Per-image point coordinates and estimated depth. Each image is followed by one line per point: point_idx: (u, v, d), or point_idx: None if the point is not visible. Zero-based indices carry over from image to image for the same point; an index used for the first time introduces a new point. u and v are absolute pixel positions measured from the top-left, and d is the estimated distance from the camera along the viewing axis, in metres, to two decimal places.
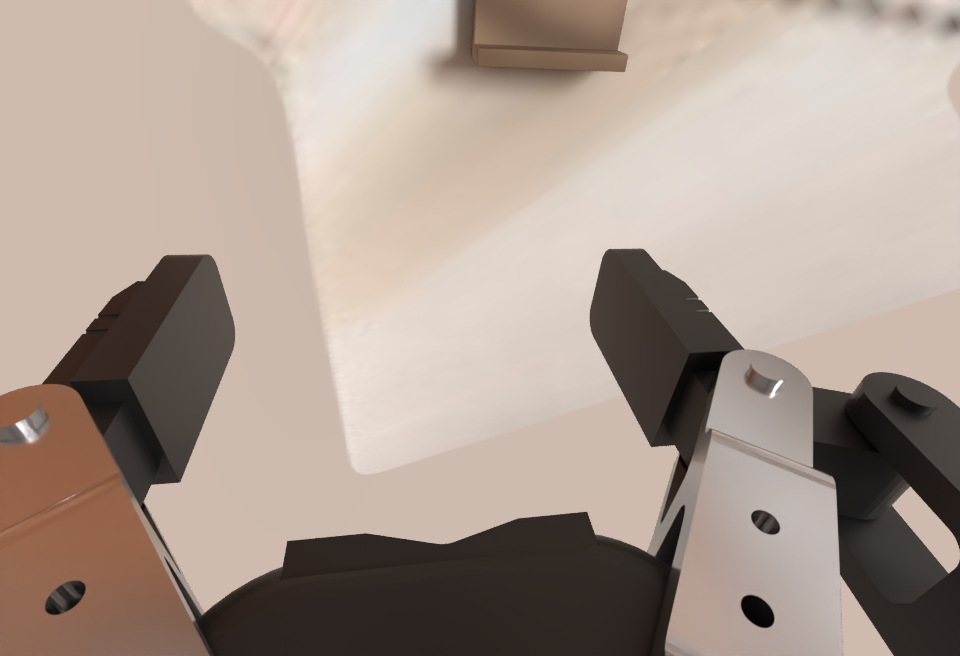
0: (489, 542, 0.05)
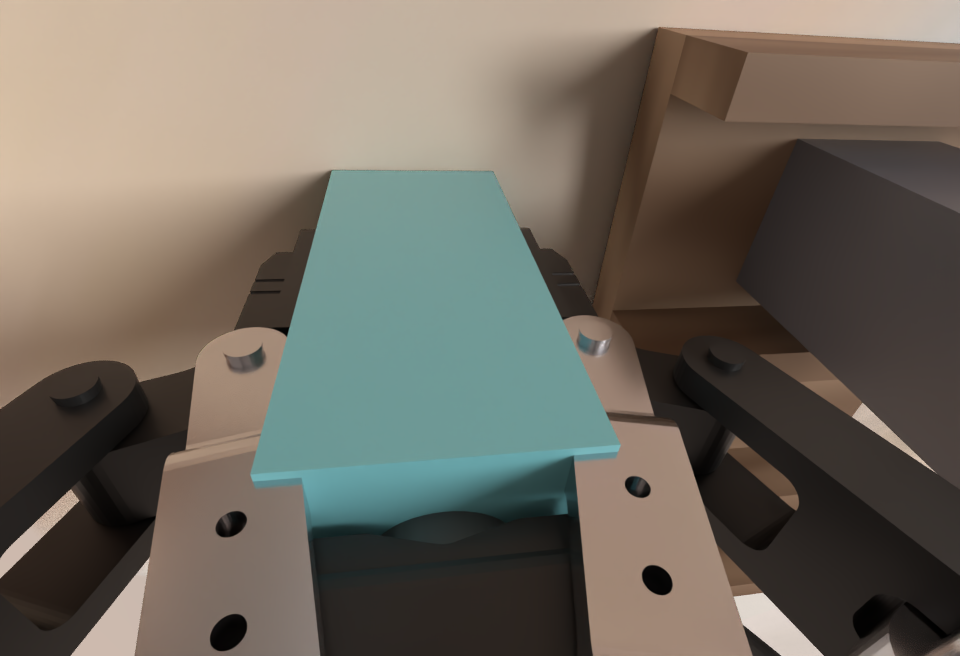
0: (488, 541, 0.05)
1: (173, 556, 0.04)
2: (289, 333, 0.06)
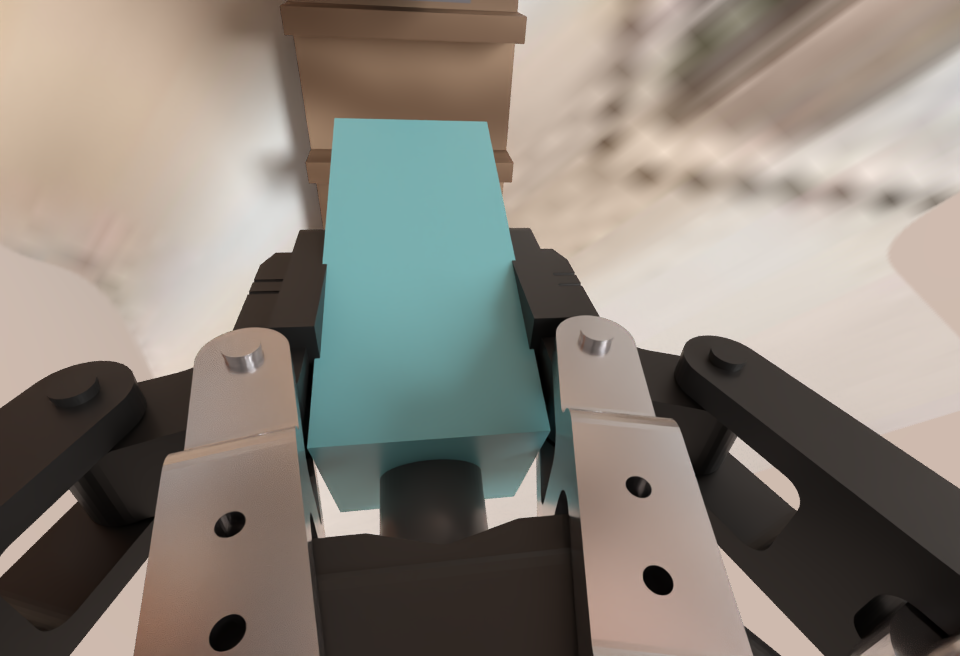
0: (489, 541, 0.05)
1: (171, 557, 0.04)
2: None
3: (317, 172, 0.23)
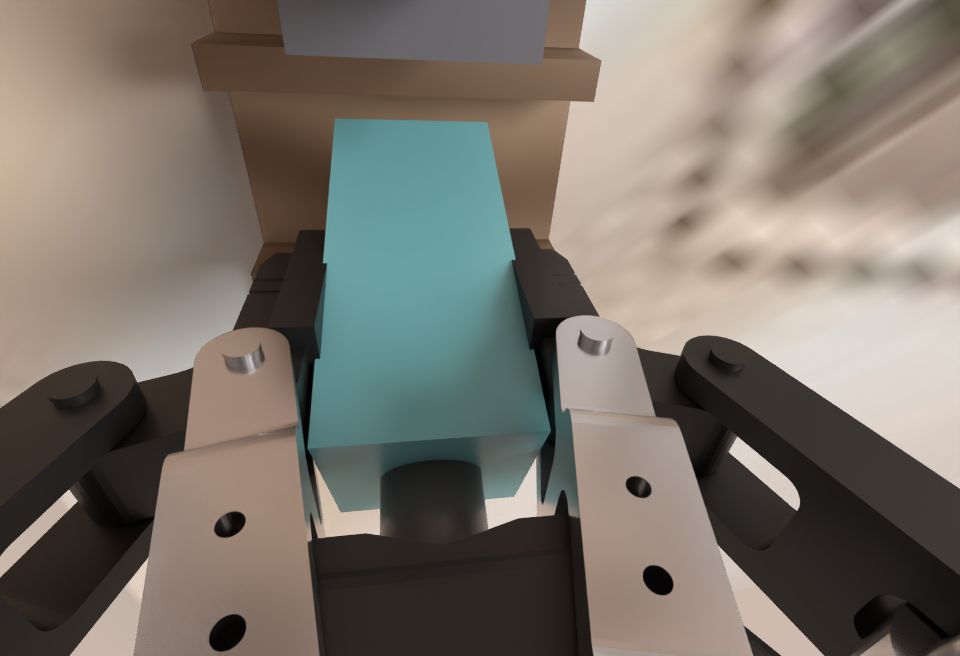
0: (488, 542, 0.05)
1: (171, 556, 0.04)
2: None
3: None
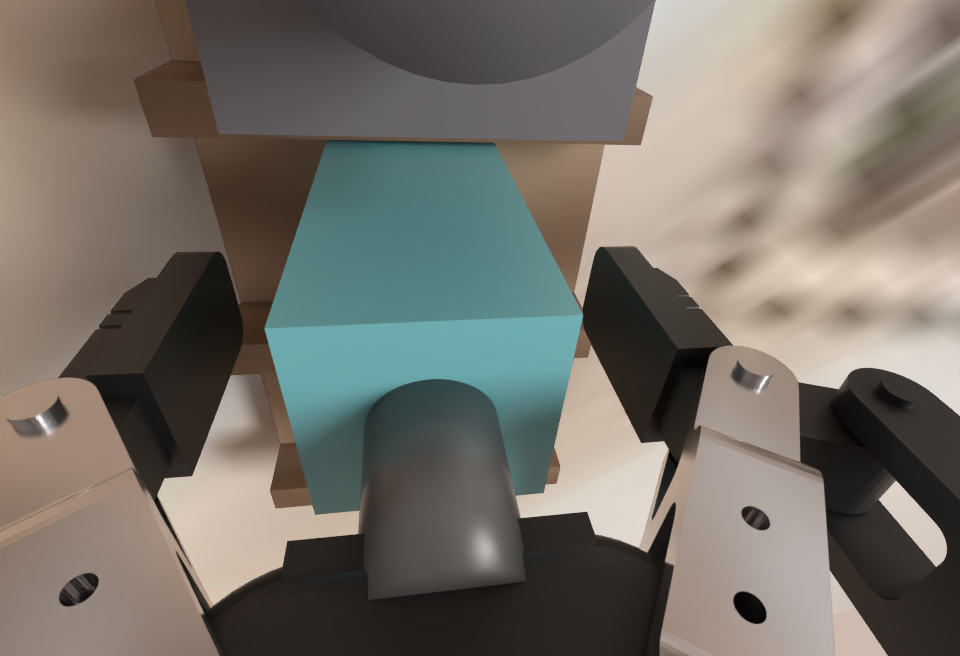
0: None
1: (11, 649, 0.03)
2: (296, 237, 0.07)
3: (245, 359, 0.13)
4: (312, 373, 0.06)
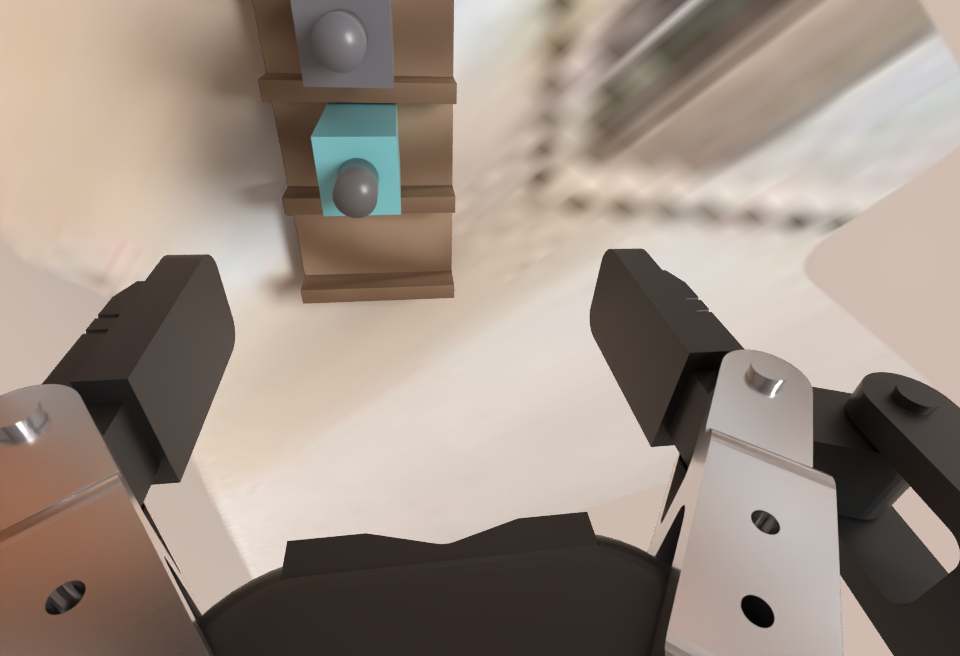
0: (488, 541, 0.05)
1: None
2: (317, 124, 0.23)
3: (292, 206, 0.29)
4: (322, 153, 0.21)
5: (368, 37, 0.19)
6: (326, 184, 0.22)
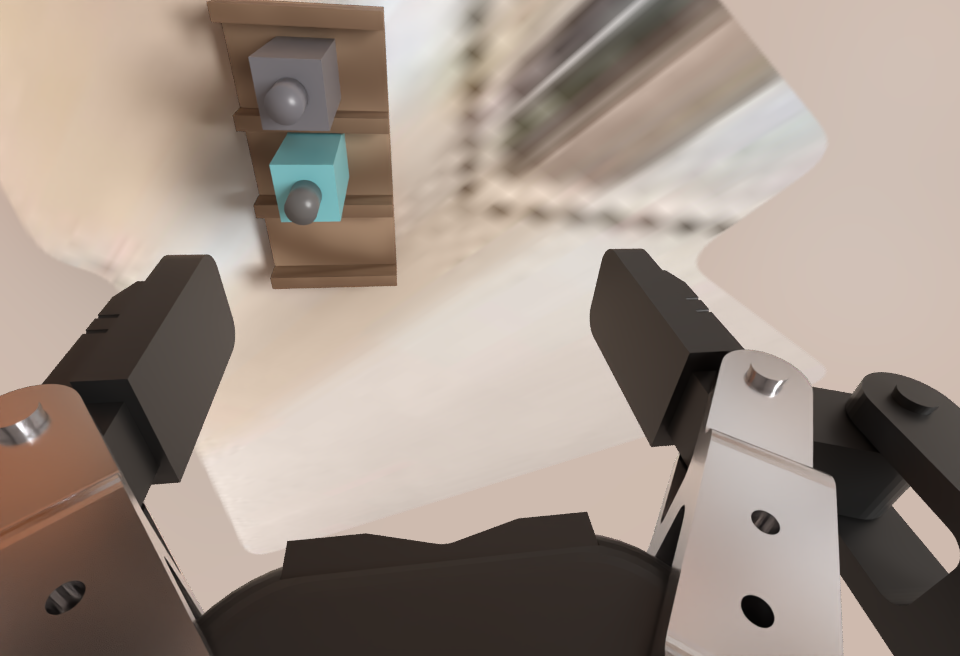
0: (488, 541, 0.05)
1: None
2: (276, 153, 0.30)
3: (261, 211, 0.36)
4: (278, 176, 0.29)
5: (308, 96, 0.27)
6: (282, 198, 0.30)
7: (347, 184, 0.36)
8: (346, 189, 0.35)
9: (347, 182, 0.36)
